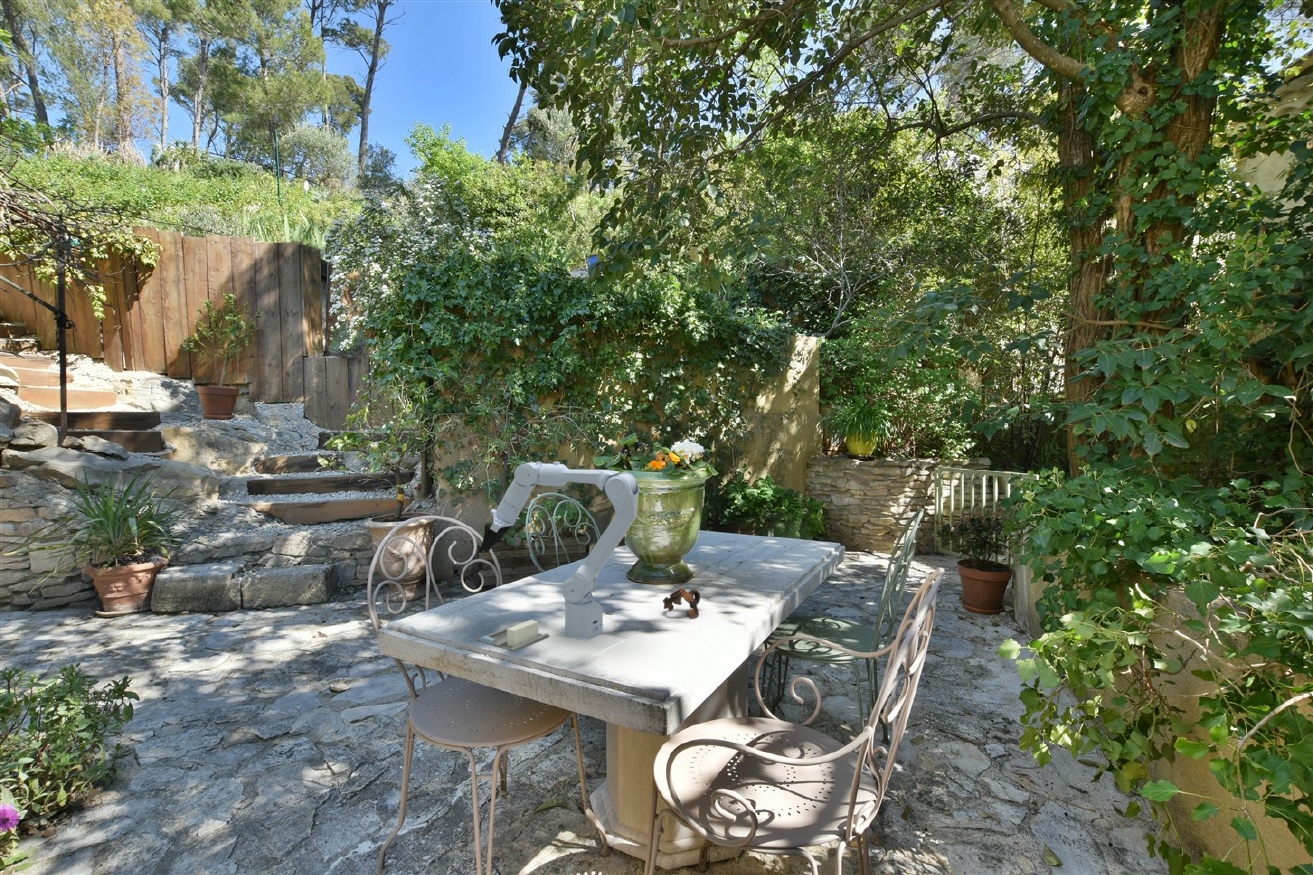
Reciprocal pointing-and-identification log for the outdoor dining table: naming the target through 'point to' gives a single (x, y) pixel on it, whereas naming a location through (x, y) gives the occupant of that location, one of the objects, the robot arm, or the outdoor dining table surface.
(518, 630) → the cream foam block
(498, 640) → the duct plate
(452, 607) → the outdoor dining table surface
